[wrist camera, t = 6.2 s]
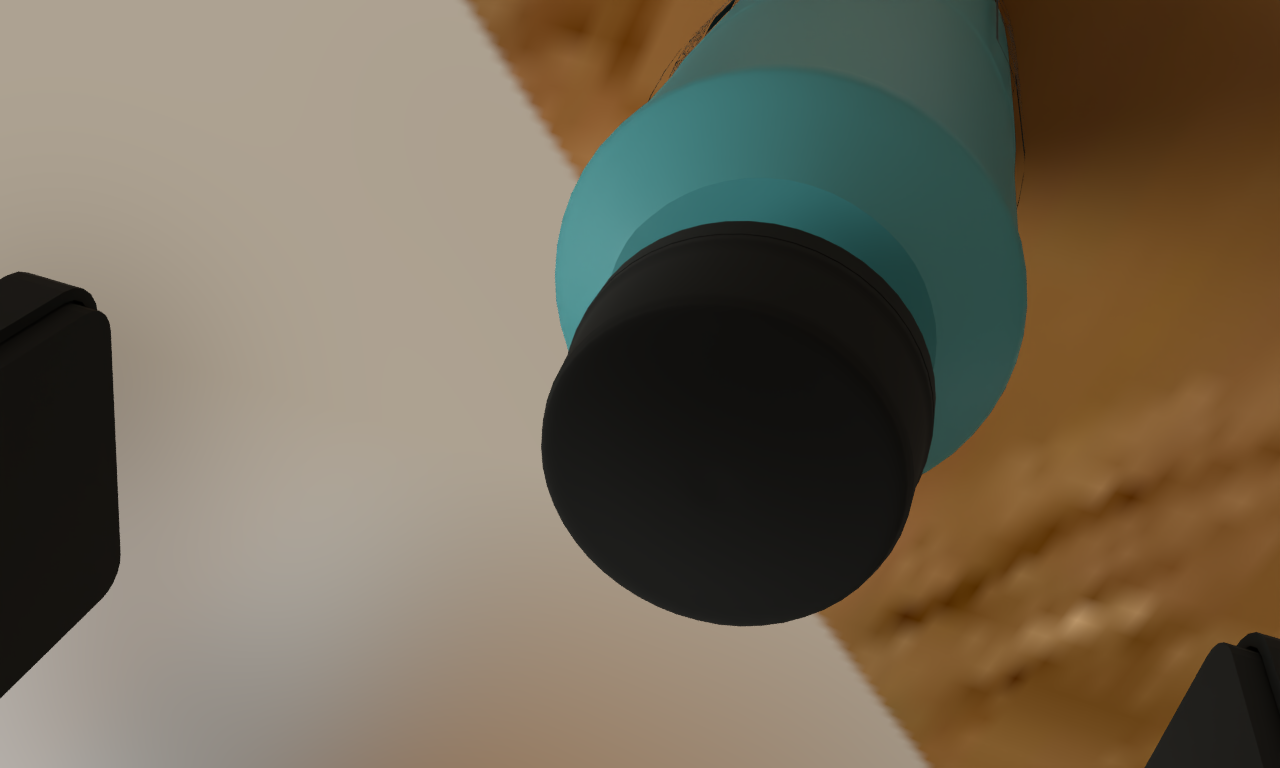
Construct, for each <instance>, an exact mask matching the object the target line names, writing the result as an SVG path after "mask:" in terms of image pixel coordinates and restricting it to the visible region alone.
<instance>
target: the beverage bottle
mask: <svg viewBox="0 0 1280 768" xmlns="http://www.w3.org/2000/svg"><path fill="white" fill-rule="evenodd" d="M730 1H731V0H730ZM738 1H739V0H738ZM1002 1H1003V0H1002ZM728 2H729V0H728ZM734 2H735V0H732V1H731V2H730V3H729V4H728V5H727V7H726V8H725V7H724V8H725V9H724V10H723V11H722V12H721V13H720V14H719V15H718V16H716V17H715V15H716V14H717V12H716V14H715V15H713V16H714V17H715V19H714V20H713V19H712V20H713V22H712V23H711V22H709V23H711V25H710V27H709V29H708V31H707V33H708V32H709V31H710V30H711V29H712V28H713V26H714V25H715V24H716V23H717V22H718V21H719V20H720V19H721V18H722V17H723V16H724V15H725V14H726V13H727V12H728V11H729V12H728V13H727V14H726V15H725V16H724V17H723V19H722V20H721V21H720V22H719V23H718V24H717V25H716V26H715V27H714V28H713V29H712V30H711V31H710V32H709V33H708V34H707V33H706V34H707V35H705V37H704V39H703V40H702V41H701V42H700V41H699V42H700V43H699V44H698V45H697V44H696V45H697V46H696V45H695V46H696V47H695V48H694V49H693V50H691V52H690V51H689V50H688V51H689V52H690V53H689V55H687V57H686V58H685V57H684V56H683V57H684V58H685V59H683V62H682V63H681V64H680V63H679V64H680V66H679V67H678V68H677V70H676V71H675V70H674V71H675V73H674V72H673V73H674V74H673V75H672V77H671V78H670V79H669V80H668V81H667V82H666V83H665V84H664V85H663V86H662V88H661V89H660V90H659V91H658V92H657V93H656V94H655V95H654V96H653V97H652V98H651V100H650V98H649V100H650V101H648V103H646V104H645V105H643V106H642V107H641V108H640V109H638V110H637V111H636V112H635V113H634V114H632V115H631V116H630V117H629V118H627V119H626V120H625V121H624V122H623V123H622V124H621V125H620V126H619V127H618V128H617V129H616V130H615V131H614V132H613V133H612V134H611V135H610V136H609V137H608V138H607V140H606V141H605V142H604V143H603V144H602V145H601V146H600V147H599V148H598V150H597V151H596V153H595V154H594V156H593V157H592V159H591V160H590V161H589V163H588V164H587V166H586V167H585V169H584V170H583V172H582V174H581V176H580V178H579V180H578V182H577V184H576V186H575V188H574V190H573V192H572V194H571V197H570V199H569V202H568V205H567V208H566V211H565V214H564V216H563V220H562V225H561V229H560V234H559V240H558V244H557V256H556V269H555V283H556V301H557V307H558V313H559V318H560V324H561V328H562V331H563V334H564V338H565V341H566V344H567V348H568V355H567V357H566V359H565V361H564V363H563V365H562V367H561V369H560V371H559V373H558V374H557V376H556V378H555V380H554V382H553V385H552V388H551V391H550V393H549V396H548V399H547V403H546V408H545V413H544V418H543V427H542V444H541V450H542V463H543V470H544V474H545V479H546V483H547V487H548V490H549V493H550V495H551V498H552V501H553V503H554V506H555V508H556V509H557V512H558V514H559V516H560V518H561V520H562V522H563V524H564V525H565V527H566V528H567V530H568V531H569V533H570V534H571V536H572V537H573V539H574V540H575V541H576V543H577V544H578V545H579V546H580V548H581V549H582V550H583V551H584V553H585V554H586V555H587V556H588V557H589V558H590V559H591V560H592V561H593V562H594V563H595V564H596V565H597V566H598V567H599V568H600V569H601V570H602V571H603V572H604V573H606V574H607V575H608V576H610V577H611V578H612V579H613V580H614V581H616V582H617V583H618V584H620V585H621V586H623V587H624V588H626V589H627V590H629V591H631V592H632V593H634V594H635V595H637V596H638V597H640V598H642V599H644V600H646V601H648V602H650V603H652V604H654V605H656V606H658V607H660V608H662V609H665V610H667V611H670V612H673V613H675V614H678V615H681V616H685V617H688V618H692V619H695V620H700V621H704V622H709V623H714V624H719V625H732V626H762V625H770V624H777V623H784V622H788V621H791V620H795V619H799V618H802V617H806V616H808V615H811V614H814V613H816V612H819V611H822V610H824V609H826V608H828V607H830V606H832V605H834V604H835V603H837V602H839V601H841V600H842V599H844V598H845V597H847V596H848V595H849V594H851V593H852V592H854V591H855V590H856V589H858V588H859V587H860V586H861V585H862V584H863V583H864V582H865V581H866V580H867V579H868V578H869V577H871V576H872V575H873V573H874V572H875V571H876V570H877V569H878V568H879V567H880V566H881V564H882V563H883V562H884V561H885V559H886V558H887V557H888V556H889V554H890V553H891V551H892V550H893V548H894V546H895V544H896V543H897V541H898V539H899V538H900V536H901V533H902V531H903V528H904V526H905V523H906V521H907V518H908V515H909V511H910V507H911V503H912V500H913V496H914V492H915V488H916V486H917V484H918V482H919V480H920V478H921V475H922V474H924V473H925V472H927V471H929V470H930V469H932V468H933V467H935V466H936V465H938V464H939V463H940V462H942V461H943V460H945V459H946V458H948V457H949V456H950V455H952V454H953V453H954V452H955V451H956V450H957V449H958V448H959V447H960V446H961V445H963V444H964V443H965V442H966V441H967V440H968V439H969V438H970V437H971V436H972V435H973V434H974V433H975V431H976V430H977V429H978V428H979V427H980V425H981V424H982V423H983V422H984V420H985V419H986V418H987V417H988V415H989V414H990V413H991V411H992V410H993V408H994V406H995V405H996V403H997V401H998V400H999V398H1000V396H1001V395H1002V393H1003V391H1004V390H1005V388H1006V385H1007V383H1008V381H1009V378H1010V376H1011V374H1012V371H1013V369H1014V367H1015V364H1016V361H1017V358H1018V354H1019V350H1020V347H1021V343H1022V339H1023V336H1024V328H1025V319H1026V311H1027V280H1026V266H1025V260H1024V255H1023V249H1022V243H1021V239H1020V236H1019V233H1018V224H1017V208H1016V192H1015V175H1014V174H1015V153H1016V140H1015V125H1014V111H1013V100H1012V95H1013V94H1012V89H1011V77H1010V68H1011V67H1010V65H1009V54H1008V49H1009V47H1008V45H1007V39H1006V32H1005V27H1006V26H1007V25H1006V26H1005V27H1004V25H1005V24H1006V23H1005V24H1003V23H1004V22H1005V21H1004V22H1003V20H1004V19H1003V20H1002V18H1003V17H1001V16H1002V15H1001V13H1000V11H999V9H998V0H996V2H995V0H740V1H739V2H737V0H736V2H737V4H736V2H735V4H736V5H735V4H734ZM999 2H1000V1H999ZM1003 3H1004V2H1003ZM725 4H726V3H725ZM733 4H734V6H733ZM1000 4H1001V3H1000ZM732 6H733V8H732V9H731V7H732ZM1001 6H1002V5H1001ZM722 7H723V6H722ZM720 9H721V8H720ZM720 9H719V10H720ZM730 9H731V10H730ZM719 10H718V11H719ZM721 10H722V9H721ZM1007 12H1008V11H1007ZM1005 15H1006V14H1005ZM713 16H712V17H713ZM714 17H713V18H714ZM1006 17H1007V16H1006ZM1008 18H1009V17H1008ZM1008 18H1007V19H1008ZM710 20H711V19H710ZM710 20H709V21H710ZM707 22H708V21H707ZM707 22H706V23H707ZM1008 22H1009V21H1008ZM1010 22H1011V21H1010ZM1009 25H1010V24H1009ZM1009 25H1008V26H1009ZM708 26H709V25H708ZM708 26H707V27H708ZM1010 26H1011V25H1010ZM703 27H704V26H703ZM705 27H706V26H705ZM1007 28H1010V27H1007ZM1007 28H1006V29H1007ZM1011 28H1012V27H1011ZM702 30H703V29H702ZM1008 30H1009V29H1008ZM1008 30H1007V31H1008ZM1009 31H1011V30H1009ZM704 32H705V31H704ZM1011 32H1013V31H1011ZM699 33H701V32H699ZM699 33H698V34H699ZM1008 33H1009V32H1008ZM696 34H697V33H696ZM698 34H697V35H698ZM703 34H704V33H703ZM1009 34H1010V33H1009ZM1011 34H1012V33H1011ZM1011 34H1010V35H1011ZM1013 34H1014V33H1013ZM1013 34H1012V35H1013ZM1012 35H1011V36H1012ZM1011 36H1010V37H1011ZM1013 36H1014V35H1013ZM694 37H695V38H696V37H697V36H694ZM694 37H693V38H694ZM700 37H701V36H700ZM693 38H692V39H693ZM698 38H699V37H698ZM1011 38H1012V37H1011ZM699 39H700V38H699ZM1012 39H1013V38H1012ZM1012 39H1011V40H1012ZM693 40H696V39H693ZM697 40H698V39H697ZM697 40H696V41H697ZM700 40H701V39H700ZM1013 40H1014V39H1013ZM690 41H692V40H690ZM687 42H688V41H687ZM694 42H695V41H694ZM1013 42H1014V41H1013ZM697 43H698V42H697ZM1011 43H1012V42H1011ZM689 44H690V43H689ZM693 44H694V43H693ZM1013 44H1014V43H1013ZM691 45H692V44H691ZM1010 45H1011V44H1010ZM689 46H690V45H689ZM689 46H688V47H689ZM692 46H693V45H692ZM1012 46H1015V44H1014V45H1012ZM686 47H687V46H686ZM686 47H685V48H686ZM693 47H694V46H693ZM1011 48H1012V47H1011ZM1015 48H1016V47H1015ZM1015 48H1014V49H1015ZM680 50H681V49H680ZM1010 50H1011V49H1010ZM1015 50H1016V49H1015ZM1015 50H1014V51H1015ZM688 51H687V52H688ZM1012 51H1013V50H1012ZM684 52H685V51H684ZM684 52H683V54H684ZM685 53H686V52H685ZM677 54H678V53H677ZM683 54H682V55H683ZM1010 54H1011V52H1010ZM1013 54H1014V53H1013ZM684 55H685V54H684ZM685 56H686V55H685ZM1015 56H1016V55H1015ZM675 57H676V56H675ZM1011 57H1012V56H1011ZM679 58H680V56H679ZM679 58H678V59H679ZM1016 58H1017V57H1016ZM1012 60H1013V58H1012ZM1015 60H1016V59H1015ZM672 61H673V60H672ZM679 61H680V60H679ZM679 61H677V62H679ZM681 61H682V60H681ZM677 62H676V63H675V65H676V64H677ZM1013 62H1014V61H1013ZM1015 64H1016V62H1015ZM1015 64H1014V65H1015ZM1017 64H1018V63H1017ZM1017 64H1016V65H1017ZM669 65H670V64H669ZM677 65H678V64H677ZM676 67H677V66H676ZM1014 67H1015V66H1014ZM667 68H668V67H667ZM1015 68H1016V67H1015ZM673 69H674V68H673ZM1013 69H1014V68H1013ZM1015 70H1016V69H1015ZM1015 70H1014V71H1015ZM665 71H666V70H665ZM1011 71H1012V70H1011ZM1015 72H1016V71H1015ZM1017 72H1018V70H1017ZM671 73H672V72H671ZM663 74H664V73H663ZM1012 74H1013V73H1012ZM1015 74H1016V73H1015ZM662 76H663V75H662ZM670 76H671V74H670ZM670 76H669V77H670ZM1013 77H1014V76H1013ZM1016 77H1017V78H1018V79H1019V75H1018V74H1017V76H1016V75H1015V78H1016ZM660 79H661V78H660ZM1018 79H1017V80H1018ZM1014 80H1015V79H1014ZM1017 80H1016V82H1015V83H1016V87H1017V82H1019V81H1020V80H1018V81H1017ZM659 81H660V80H659ZM658 83H659V82H658ZM1019 83H1020V82H1019ZM1018 85H1019V84H1018ZM656 86H657V85H656ZM1014 87H1015V86H1014ZM1019 87H1020V85H1019ZM655 88H656V87H655ZM654 90H655V89H654ZM1013 91H1014V90H1013ZM1020 91H1021V90H1019V91H1018V88H1017V95H1018V93H1019V94H1020ZM652 93H653V92H652ZM651 95H652V94H651ZM1020 95H1021V94H1020ZM650 97H651V96H650ZM1019 98H1020V97H1019ZM1019 98H1018V104H1019ZM1020 103H1021V102H1020ZM1021 105H1022V104H1021ZM1021 109H1022V107H1021ZM1019 113H1020V107H1019ZM1022 114H1023V113H1022ZM1023 119H1024V118H1023ZM1020 122H1021V116H1020ZM1021 131H1022V124H1021ZM1024 134H1025V133H1024ZM1022 140H1023V133H1022ZM1023 148H1024V141H1023ZM1024 162H1025V150H1024ZM1023 176H1024V174H1023ZM1022 182H1023V180H1022ZM1021 188H1022V186H1021ZM1020 193H1021V191H1020ZM1019 199H1020V197H1019ZM1018 203H1019V202H1018ZM1017 207H1018V205H1017Z"/></svg>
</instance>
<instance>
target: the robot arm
mask: <svg viewBox="0 0 1280 768" xmlns="http://www.w3.org/2000/svg"><path fill="white" fill-rule="evenodd" d="M119 564H120V533H119V509H118V486H117V463H116V442H115V418H114V394H113V373H112V350H111V330H110V324H109V321H108V319H107V317H106V315H105V314H103V313H102V312H100V311H97V307H96V303H95V301H94V299H93V297H92V295H91V294H90V293H88V292H87V291H86V290H84V289H82V288H79V287H75V286H72V285H68V284H65V283H61V282H58V281H55V280H51V279H48V278H45V277H41V276H37V275H34V274H30V273H26V272H16V273H13V274H10V275H7V276H5V277H3V278H2V279H0V698H1V697H2V696H3V695H4V694H5V693H6V692H7V691H8V690H9V689H10V688H11V687H12V686H13V685H14V684H15V683H16V682H17V681H18V680H19V679H21V678H22V676H24V675H25V673H27V672H28V671H29V670H30V669H31V668H32V667H33V666H34V665H35V664H36V663H37V662H38V661H39V660H40V659H41V658H42V657H43V656H44V655H45V654H46V653H47V652H48V651H49V650H50V649H51V648H52V647H53V646H54V645H55V644H56V643H57V642H58V641H59V640H60V639H61V638H62V637H63V636H64V635H65V634H66V633H67V632H68V631H69V630H70V629H71V628H73V627H74V626H75V625H76V624H77V622H79V621H80V620H81V619H82V618H83V617H84V616H85V615H86V614H87V613H88V612H89V611H90V610H91V609H92V608H93V607H94V606H95V605H96V604H97V603H98V602H99V601H100V600H101V599H102V598H103V597H104V595H105V594H106V593H107V592H108V590H109V589H110V587H111V585H112V584H113V582H114V579H115V577H116V575H117V572H118V568H119ZM1145 768H1280V639H1278V638H1274V637H1271V636H1268V635H1264V634H1261V633H1257V632H1255V633H1250V634H1248V635H1246V636H1245V637H1244V638H1243V639H1242V640H1240V642H1239V643H1238V645H1237V646H1234V645H1231V644H1228V643H1224V642H1223V643H1218V644H1217V645H1216V646H1215V647H1213V648H1212V650H1211V651H1210V653H1209V654H1208V656H1207V657H1206V659H1205V661H1204V663H1203V664H1202V666H1201V668H1200V670H1199V672H1198V673H1197V675H1196V677H1195V679H1194V680H1193V682H1192V684H1191V686H1190V688H1189V689H1188V691H1187V693H1186V695H1185V697H1184V698H1183V700H1182V702H1181V704H1180V706H1179V707H1178V709H1177V711H1176V713H1175V714H1174V716H1173V718H1172V720H1171V722H1170V723H1169V725H1168V727H1167V729H1166V731H1165V732H1164V734H1163V736H1162V738H1161V740H1160V741H1159V743H1158V745H1157V747H1156V748H1155V750H1154V752H1153V754H1152V756H1151V757H1150V759H1149V761H1148V763H1147V765H1146V766H1145Z"/></svg>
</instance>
